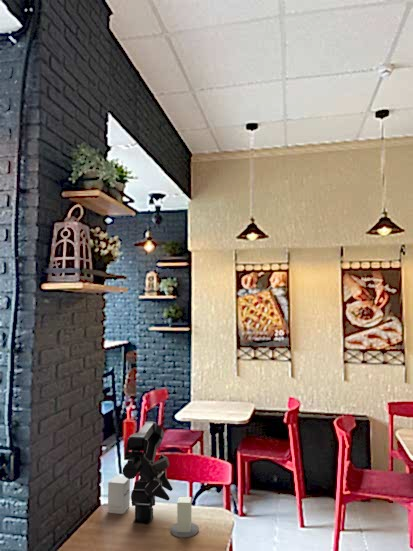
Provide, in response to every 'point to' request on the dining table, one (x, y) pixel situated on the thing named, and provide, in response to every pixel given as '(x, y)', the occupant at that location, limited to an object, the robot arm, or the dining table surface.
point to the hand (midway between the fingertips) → (170, 494)
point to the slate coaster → (184, 534)
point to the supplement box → (118, 495)
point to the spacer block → (184, 514)
